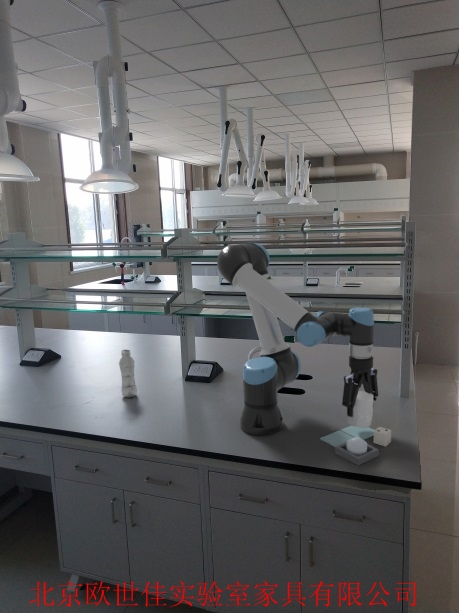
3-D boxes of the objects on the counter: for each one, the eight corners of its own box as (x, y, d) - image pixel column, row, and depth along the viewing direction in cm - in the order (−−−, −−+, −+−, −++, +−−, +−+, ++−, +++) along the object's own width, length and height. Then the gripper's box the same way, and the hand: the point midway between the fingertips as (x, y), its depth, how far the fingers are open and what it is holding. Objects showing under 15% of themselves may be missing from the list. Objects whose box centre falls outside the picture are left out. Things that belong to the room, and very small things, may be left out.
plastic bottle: (122, 400, 184) (117, 353, 180) (121, 394, 190) (117, 349, 186) (138, 398, 185) (134, 352, 181) (136, 392, 192) (133, 347, 188)
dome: (342, 451, 136) (342, 437, 135) (355, 445, 139) (355, 431, 138) (357, 459, 131) (358, 445, 130) (371, 453, 134) (371, 438, 133)
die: (373, 442, 141) (373, 430, 140) (378, 438, 144) (379, 426, 143) (385, 446, 139) (386, 434, 138) (390, 441, 141) (391, 429, 141)
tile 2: (340, 430, 150) (340, 429, 150) (358, 423, 155) (358, 422, 155) (361, 441, 143) (361, 440, 143) (379, 432, 147) (379, 432, 147)
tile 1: (319, 439, 145) (319, 438, 145) (339, 431, 150) (339, 430, 150) (340, 450, 138) (340, 449, 137) (360, 441, 142) (360, 440, 142)
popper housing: (335, 452, 136) (335, 446, 136) (355, 443, 141) (355, 438, 141) (358, 465, 129) (358, 459, 128) (378, 455, 134) (378, 449, 133)
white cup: (368, 417, 152) (368, 390, 150) (376, 428, 144) (377, 399, 142) (345, 418, 152) (345, 391, 150) (352, 429, 144) (352, 400, 142)
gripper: (348, 365, 135) (347, 434, 139) (391, 351, 146) (389, 416, 150) (330, 359, 141) (330, 426, 146) (372, 347, 152) (371, 409, 156)
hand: (360, 421), depth 148 cm, fingers closed on white cup, 8 cm apart
